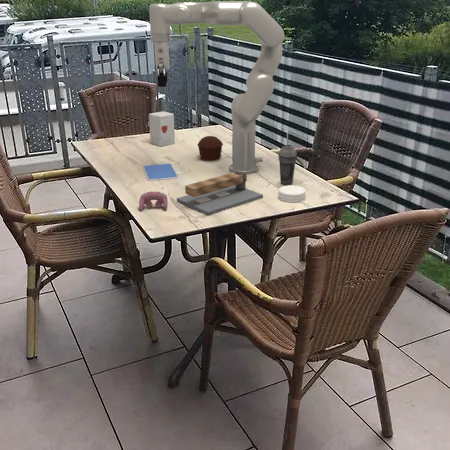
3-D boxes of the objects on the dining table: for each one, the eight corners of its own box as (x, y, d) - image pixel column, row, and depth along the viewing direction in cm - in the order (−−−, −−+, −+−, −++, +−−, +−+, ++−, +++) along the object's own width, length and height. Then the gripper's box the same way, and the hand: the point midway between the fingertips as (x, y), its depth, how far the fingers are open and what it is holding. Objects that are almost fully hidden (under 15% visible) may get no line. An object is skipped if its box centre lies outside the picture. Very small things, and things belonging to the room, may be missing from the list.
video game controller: (168, 211, 196) (168, 191, 197) (167, 210, 192) (167, 190, 192) (140, 212, 196) (140, 192, 197) (138, 210, 192) (138, 190, 192)
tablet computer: (178, 179, 225) (178, 176, 225) (147, 182, 223) (147, 179, 222) (171, 166, 243) (171, 163, 242) (142, 168, 240) (142, 165, 239)
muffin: (192, 158, 252) (192, 136, 248) (211, 153, 259) (211, 132, 255) (209, 163, 244) (209, 141, 240) (228, 159, 250) (228, 137, 247)
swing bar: (240, 177, 211) (240, 170, 210) (249, 181, 208) (249, 173, 207) (185, 193, 196) (185, 185, 194) (194, 197, 192) (194, 189, 191)
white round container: (310, 197, 205) (311, 188, 203) (295, 205, 198) (295, 196, 196) (288, 191, 211) (288, 183, 209) (272, 198, 204) (272, 189, 203)
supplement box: (160, 147, 270) (159, 116, 264) (150, 143, 276) (148, 113, 270) (175, 143, 275) (174, 113, 269) (164, 140, 281) (163, 110, 276)
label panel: (230, 185, 217) (230, 175, 215) (262, 197, 204) (263, 186, 203) (176, 201, 201) (176, 190, 199) (208, 215, 189) (208, 203, 187)
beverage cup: (281, 187, 214) (283, 136, 207) (274, 181, 221) (276, 132, 213) (298, 185, 216) (301, 135, 208) (291, 180, 223) (293, 131, 215)
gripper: (169, 40, 202) (171, 88, 209) (171, 36, 218) (173, 81, 225) (149, 40, 202) (151, 88, 209) (152, 36, 218) (154, 81, 225)
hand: (162, 84), depth 217 cm, fingers open, 9 cm apart
